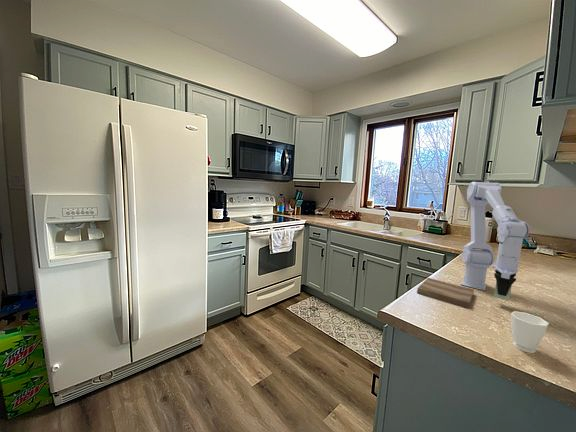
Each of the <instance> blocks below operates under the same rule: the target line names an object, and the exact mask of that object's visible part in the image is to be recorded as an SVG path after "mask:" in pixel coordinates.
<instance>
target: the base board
mask: <svg viewBox="0 0 576 432" xmlns="http://www.w3.org/2000/svg"><path fill="white" fill-rule="evenodd" d="M416 290H417V291H416V293H417V294H420V295H422V296H423V295H424V296H426V297H429V298H432V299H437V300H439V301H443V302H445V303H449V304H453V305H456V306H459V307H462V308H467V309H469V308H470V305H471V302H472V299H473V296H474V293H475V292H474V291H475V288H471V287H467V286H463V285H457V284H453V283H450V282H446V281H443V280H442V281H441V280H439V279H434V278H430V277H427V278H426V279H425V280H424V281H423V282H422V283H421V284H420V285H419V286H418V287H417V289H416Z"/></svg>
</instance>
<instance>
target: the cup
mask: <svg viewBox="0 0 576 432" xmlns="http://www.w3.org/2000/svg"><path fill="white" fill-rule="evenodd" d="M549 324H550V323H549V322H547V321H546V320H545V319H543V318H542V317H540V316H538V315H537V316H536V315H533V314H531V313H528V312H523V311H517V310H514V311H512V312H511V313H510V326H511V327H510V332H511V337H512V341H513V342H512V345H513V346H514V347H515V348H517V349H519V350H520V351H523V352H525V353H528V354H529V353H530V354H535V353H536V352H537V348H538V347H539V345H540V344H541V342H542V341H543V338H544V335H545V334H546V331H547V329H548V326H549Z"/></svg>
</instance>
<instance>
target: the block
mask: <svg viewBox="0 0 576 432" xmlns="http://www.w3.org/2000/svg"><path fill="white" fill-rule="evenodd" d="M512 285H513V284H512ZM512 285H511V287H510V289H509V291H508V293H507V295H506V296H503V295H499V294H498V291H497V281H496V282H495V286H494V287H495V288H494V295H493V297H494V298H497V299H501V300H504V301H508V302H509V301H510V297H511V292H512Z"/></svg>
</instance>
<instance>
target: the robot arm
mask: <svg viewBox="0 0 576 432" xmlns="http://www.w3.org/2000/svg"><path fill="white" fill-rule="evenodd" d="M502 189H503V188H502V185H501V183H499V182H480V181H478V182H477V181H472V182H470V183H469V184H468V187H467V189H466V199H467V203H469V204H470V242H468V243H466V244H465V245H463V247H462V252H461V260H462V262H463V263H464V264H465V268H464V276H463V279H462V281H461V285H460V286H463V287H467V288H471V289H477V290H480V291H485V290H486V287H487V283H486V280H487V272H488V268H492V269H494V272H495V273H493V274H494V278H495V280H496V281H497V291H498V294H499V295H503V296H506V295H507V293H508V291H509V289H510V287H511V285H514V283H515V282H516V281H517V278H516V276H517V274H518V273H519V269H518V268H519V261H520V258H521V251H522V247H523V242H524V241H523V240H524V239H527V237H528V236H529V234H530V226H529V224H528V222H526V221H522V219H519V217H518V216H517V214H516V213H515V212H514V210H513V208H512V207H511V206H510V205H509V206H508V205H506V204H505V202H504V200H503V197H502V195H501V194H502ZM487 205H490V207H491V208H492V212H491V215H492V216H493V218H494V220H495V221H496V223H497V226H498V227H497V228H496V230H497V231H496V232H497V233H496V234H497V240H498V242H499V244H498V248H497V256H496V257H495V254H494V250H493V249H494V248H493V247H492V246H491V245H489V244H488V243H487V239H486V238H487V237H486V236H487V234H486V233H487V232H486V231H487V230H486V228H487V227H486V206H487ZM495 258H496V261H495ZM494 263H495V264H494ZM511 288H512V287H511Z"/></svg>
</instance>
